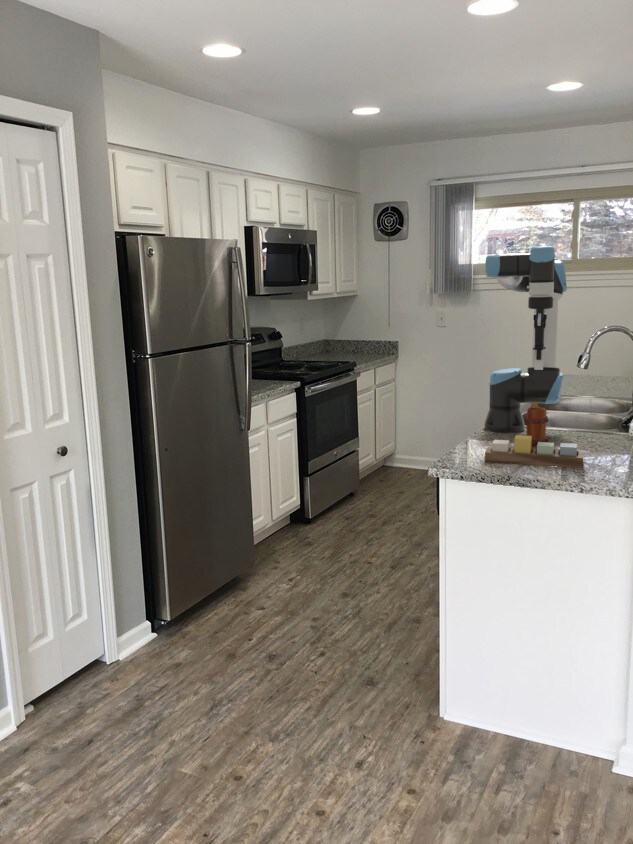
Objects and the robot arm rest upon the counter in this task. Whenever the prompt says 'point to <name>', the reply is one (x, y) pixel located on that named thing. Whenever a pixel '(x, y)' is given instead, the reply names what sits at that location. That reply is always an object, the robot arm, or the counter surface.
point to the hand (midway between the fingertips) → (538, 369)
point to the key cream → (501, 445)
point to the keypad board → (534, 458)
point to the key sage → (545, 448)
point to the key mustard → (523, 444)
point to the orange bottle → (536, 424)
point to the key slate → (568, 449)
